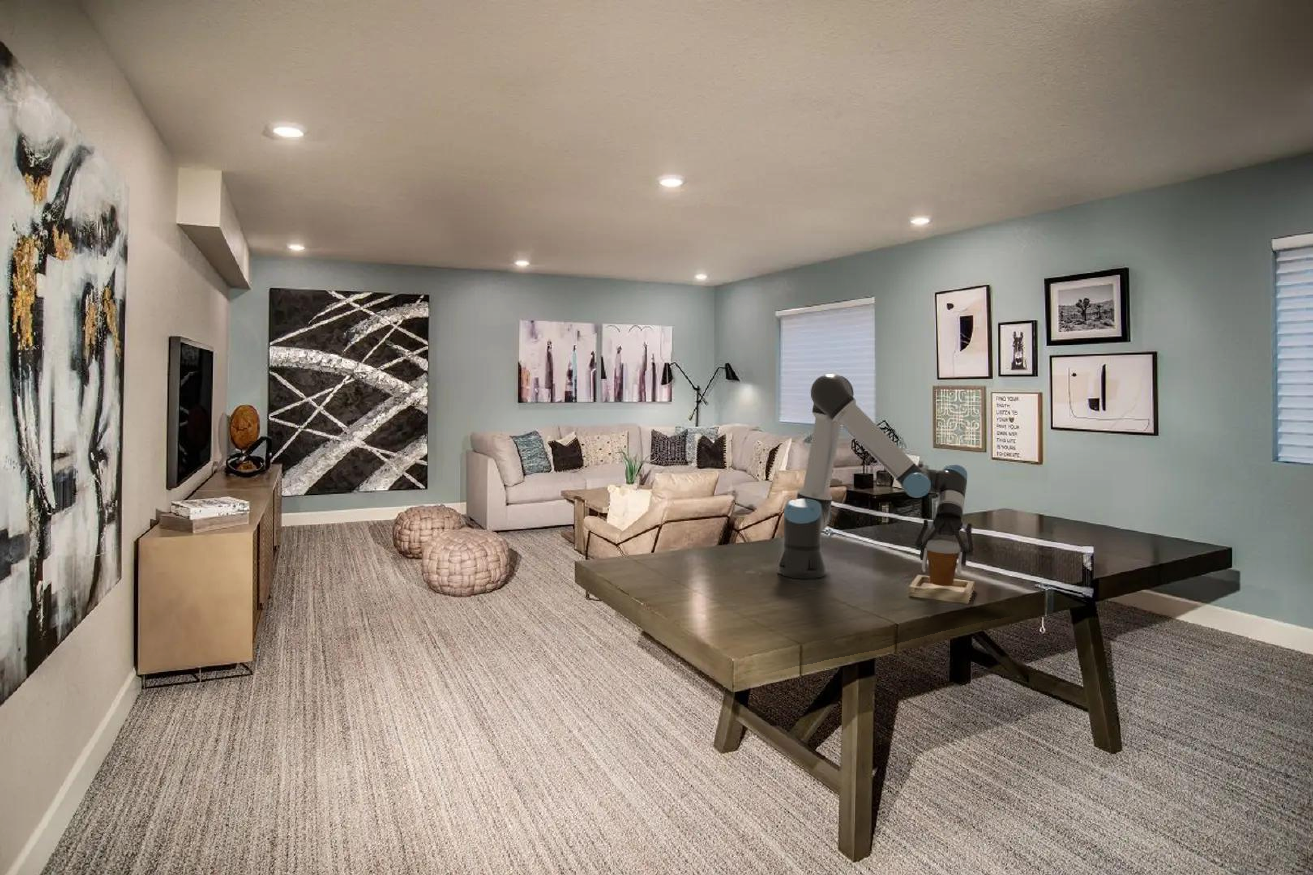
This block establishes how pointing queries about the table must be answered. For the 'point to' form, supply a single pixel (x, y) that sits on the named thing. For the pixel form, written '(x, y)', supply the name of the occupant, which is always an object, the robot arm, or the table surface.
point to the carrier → (942, 590)
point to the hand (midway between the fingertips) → (940, 571)
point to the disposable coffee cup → (942, 561)
